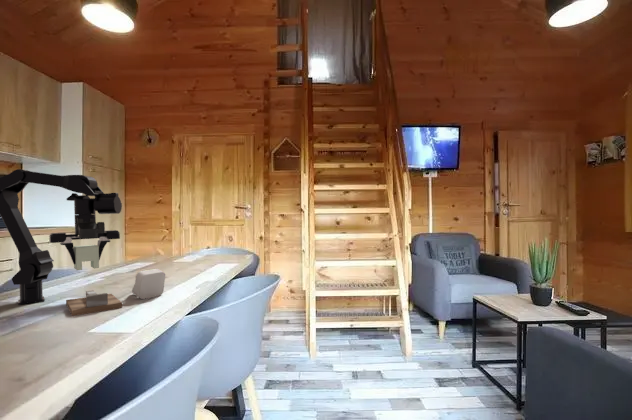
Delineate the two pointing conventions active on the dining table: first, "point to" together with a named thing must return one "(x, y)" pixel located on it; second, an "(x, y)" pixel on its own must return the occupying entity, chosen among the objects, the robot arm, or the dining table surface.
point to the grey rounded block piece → (149, 283)
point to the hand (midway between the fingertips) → (86, 263)
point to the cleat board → (93, 303)
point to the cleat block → (86, 256)
